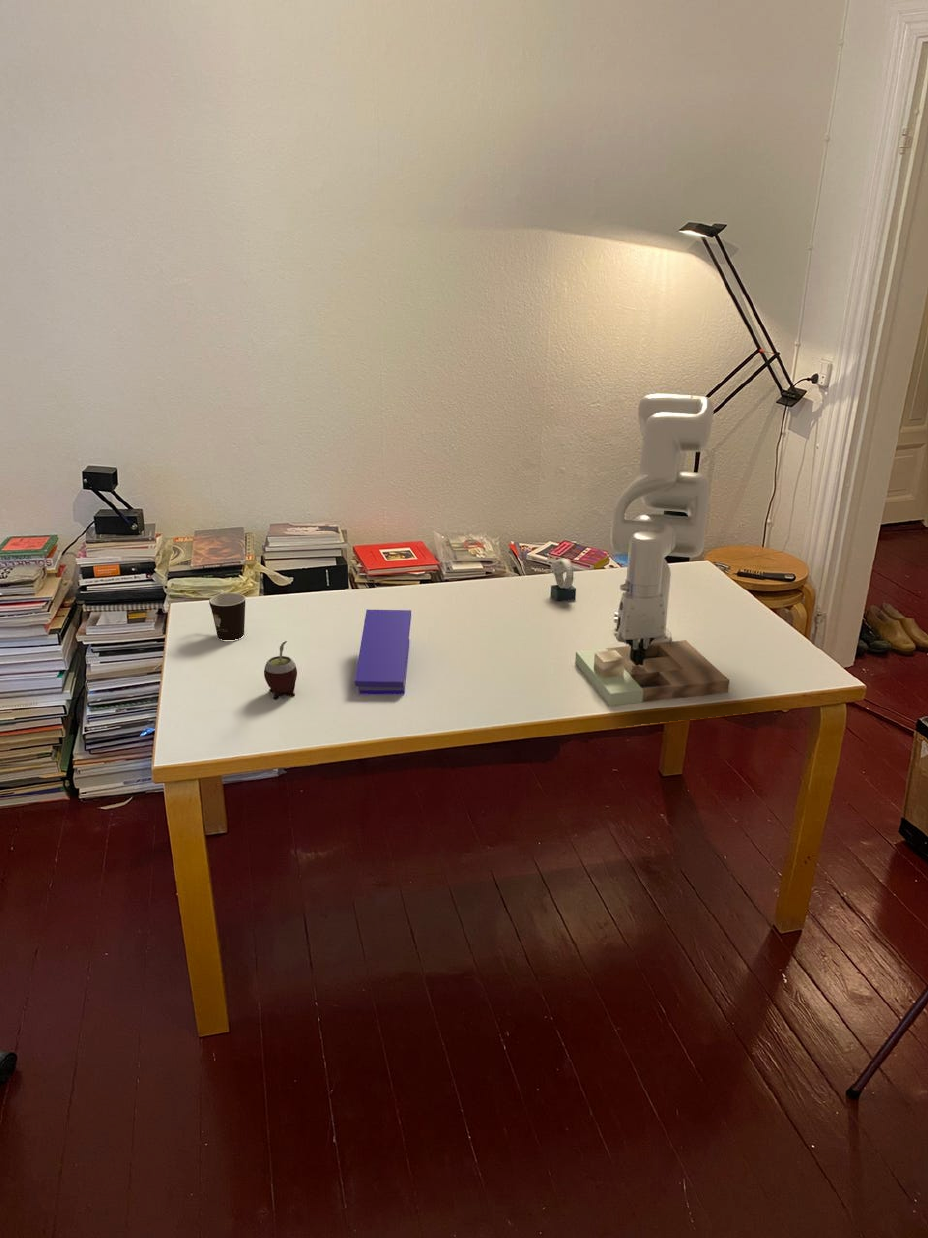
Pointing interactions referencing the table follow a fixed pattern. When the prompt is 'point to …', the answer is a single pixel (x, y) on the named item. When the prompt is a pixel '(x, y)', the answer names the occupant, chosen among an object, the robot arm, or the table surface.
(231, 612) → the coffee mug
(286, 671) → the mate gourd
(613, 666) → the maple block
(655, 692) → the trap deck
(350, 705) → the table surface
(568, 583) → the white knot sculpture
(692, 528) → the robot arm
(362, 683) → the layered purple block
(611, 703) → the pad
